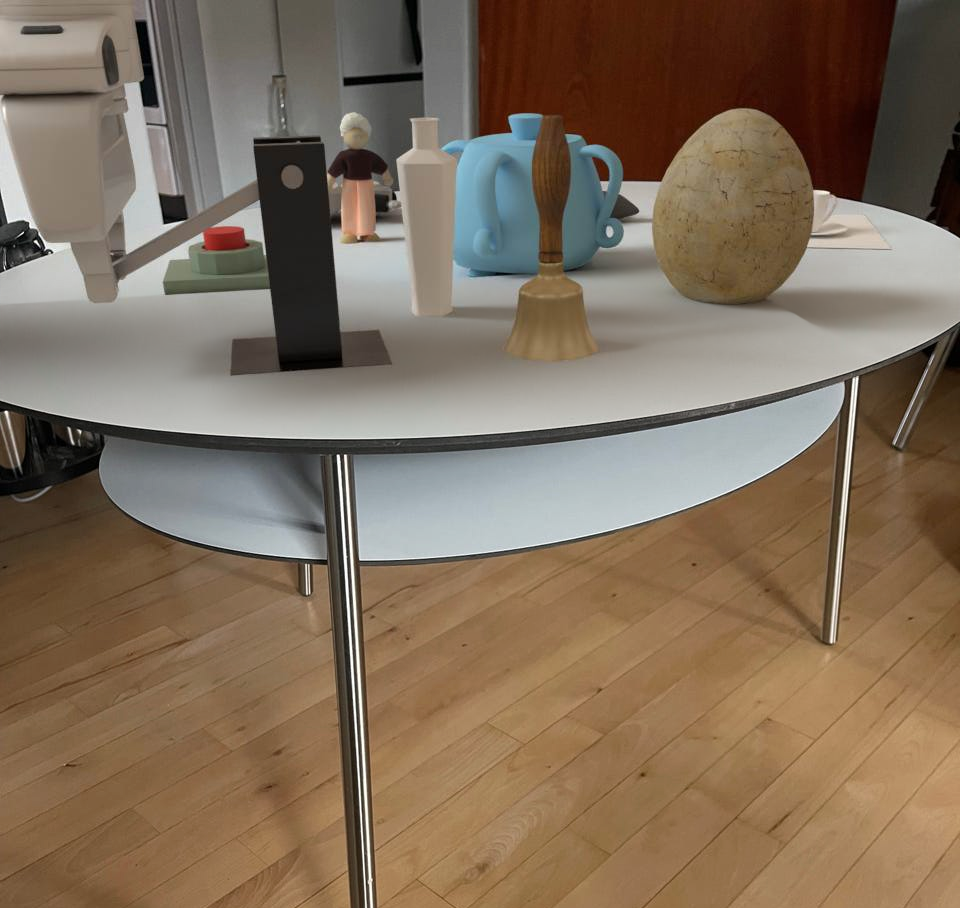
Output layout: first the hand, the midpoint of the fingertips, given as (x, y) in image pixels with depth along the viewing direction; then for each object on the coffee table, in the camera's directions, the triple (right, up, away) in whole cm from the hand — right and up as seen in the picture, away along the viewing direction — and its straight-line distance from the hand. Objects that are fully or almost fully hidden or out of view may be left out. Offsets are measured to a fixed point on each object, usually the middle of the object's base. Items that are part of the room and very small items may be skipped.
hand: (110, 289), depth 68 cm
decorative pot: (+29, +12, +31) cm, 44 cm away
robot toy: (+7, +28, +56) cm, 63 cm away
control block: (+2, +8, +25) cm, 27 cm away
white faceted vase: (+21, +2, +14) cm, 25 cm away
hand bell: (+30, -4, +5) cm, 31 cm away
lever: (+7, +3, 0) cm, 8 cm away
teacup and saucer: (+59, +23, +47) cm, 79 cm away
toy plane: (+32, +28, +56) cm, 70 cm away
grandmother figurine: (+12, +21, +45) cm, 51 cm away
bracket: (+13, -4, +5) cm, 14 cm away
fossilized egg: (+45, +4, +18) cm, 49 cm away
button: (+2, +11, +23) cm, 26 cm away
